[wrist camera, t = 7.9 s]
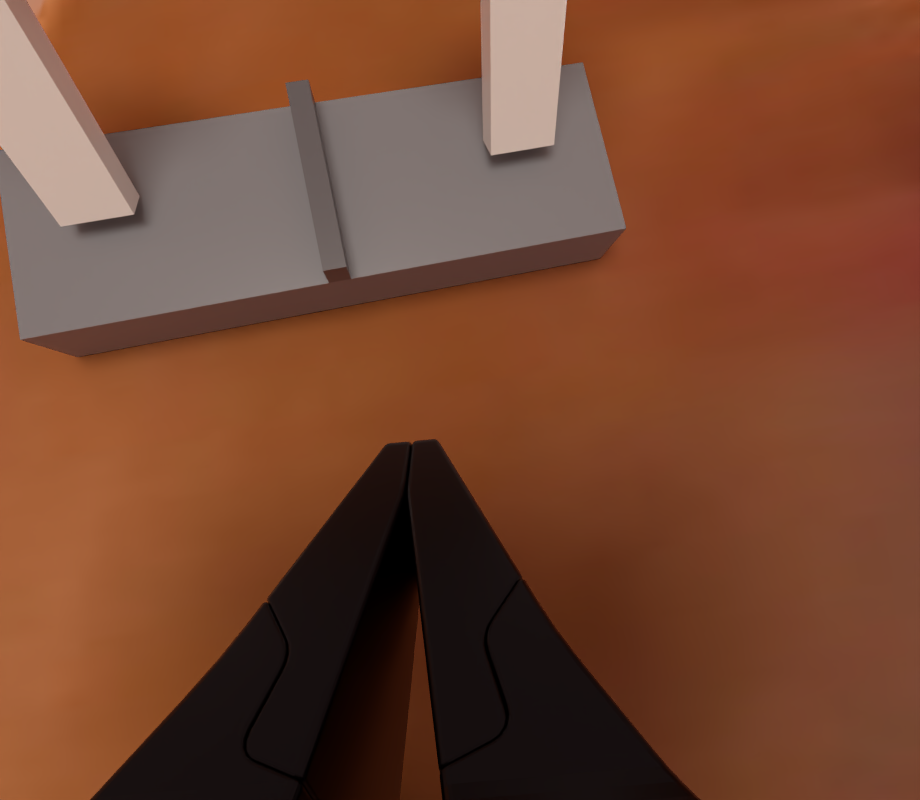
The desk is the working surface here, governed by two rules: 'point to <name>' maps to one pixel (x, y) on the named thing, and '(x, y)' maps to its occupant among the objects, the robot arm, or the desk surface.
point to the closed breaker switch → (55, 128)
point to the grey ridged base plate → (308, 215)
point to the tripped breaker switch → (520, 72)
